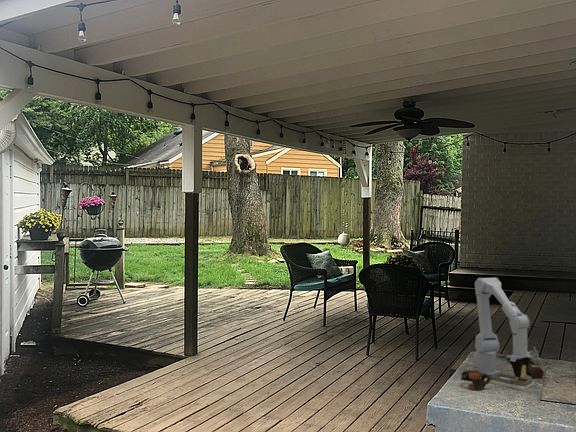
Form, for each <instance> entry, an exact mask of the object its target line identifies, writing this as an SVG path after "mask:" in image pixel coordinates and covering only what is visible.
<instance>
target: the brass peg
mask: <svg viewBox="0 0 576 432" xmlns="http://www.w3.org/2000/svg"><path fill="white" fill-rule="evenodd" d="M526 378H527V373H526V365H525V364H523V366H522V370H521V377H516V381H521V382H524V381H526Z"/></svg>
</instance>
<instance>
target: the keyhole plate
mask: <svg viewBox="0 0 576 432" xmlns="http://www.w3.org/2000/svg"><path fill="white" fill-rule="evenodd" d="M489 376H490V378H491V380H490V382H489V384H493V385H494V384H495V385H498V386H502V387H503V386H504V387H508V388H513V389H517V390H521V391H524V390H525V389H527V388H529V387H530V388H531V386H534V385H535V382H534V381H533V379H532V378H531V379H530V378H527V377H526V381H524V382H521V381H516V377H515V375H514V374H509V373H505V372H498V373H496V374H493V375H489Z"/></svg>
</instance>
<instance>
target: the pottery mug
mask: <svg viewBox="0 0 576 432" xmlns="http://www.w3.org/2000/svg"><path fill="white" fill-rule="evenodd" d="M490 376H491V375H488V374H483V373H479V371H477V370H473V369H472V370H466V371H463V372H461V378H460V381H465V382H466V381H468V382H471V384H468V387H469V390H470V391H475V390H481V391H483V390H484V388H485V387H486V386H487V385H489V384H490V383H489V382H490V380H491V378H490ZM485 378H486V381H485Z"/></svg>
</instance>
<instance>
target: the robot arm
mask: <svg viewBox="0 0 576 432" xmlns="http://www.w3.org/2000/svg"><path fill="white" fill-rule="evenodd" d="M474 290H475V296H476V303H477V313H478V323H479V325H478V326H479V333H478V334H476V335H475V343H474V348H475V350H476V351H475V352H474V353H473V358H472V360H473V361H472V365H473V366H472V367H473V369H472V370H477V371H479V374H488V375H489V376H492V375H495V374H497V373H500V370H497V369H496V368H497V365H496V364H497V363H496V361H497V359H496V358H497V355H496V354H498V351H499V350H500V346H501V345H500V342H499V339H498V335H497V334H496V333H494V332H493V327H492V326H493V325H492V318H491V316H492V315H491V309H490V308H491V307H490V297H491V296H494V297H495V298H496V300H497V301H498V302H499V303H500V304H501V305H502V307H501V309H502V312H503V313H504V314H505V316H506V317H507V318H508V320H509V321H508V322H509V327H510V330H511V333H512V354H511V355H512V356H510V360H509V361H508V363H509V362H510V363H509V364H510V365H511V368H512V370H513V375H515V377H521V370H522V366H523V364H525V365H526V374H528V373H527V368H528V365H529V364H531V363H530V361H531V358H528V357H530V352H528V351H527V348H528V329H529V328H530V327H531V319H530V318H529V316H528V315H527V314H524V313H523V312H521V310H520V309H519V308H518V306H517V304H516V303H515V302H513V301H510V300H509V298H508V297H507V295H506V293H505V292H504V290H503V289H502V282H501V281H500V280H499V278H498V277H478V278H477V279H476V280H475V282H474Z"/></svg>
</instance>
